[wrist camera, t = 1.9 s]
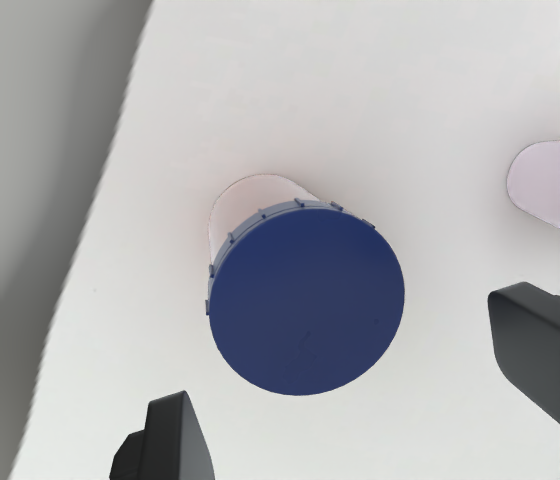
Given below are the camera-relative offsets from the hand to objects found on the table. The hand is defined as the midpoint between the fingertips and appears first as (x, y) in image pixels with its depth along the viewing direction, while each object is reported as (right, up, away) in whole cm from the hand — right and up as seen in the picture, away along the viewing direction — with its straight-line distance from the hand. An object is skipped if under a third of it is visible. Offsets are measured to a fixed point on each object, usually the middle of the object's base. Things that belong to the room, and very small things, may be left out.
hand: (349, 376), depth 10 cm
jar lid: (-1, +1, +4) cm, 4 cm away
